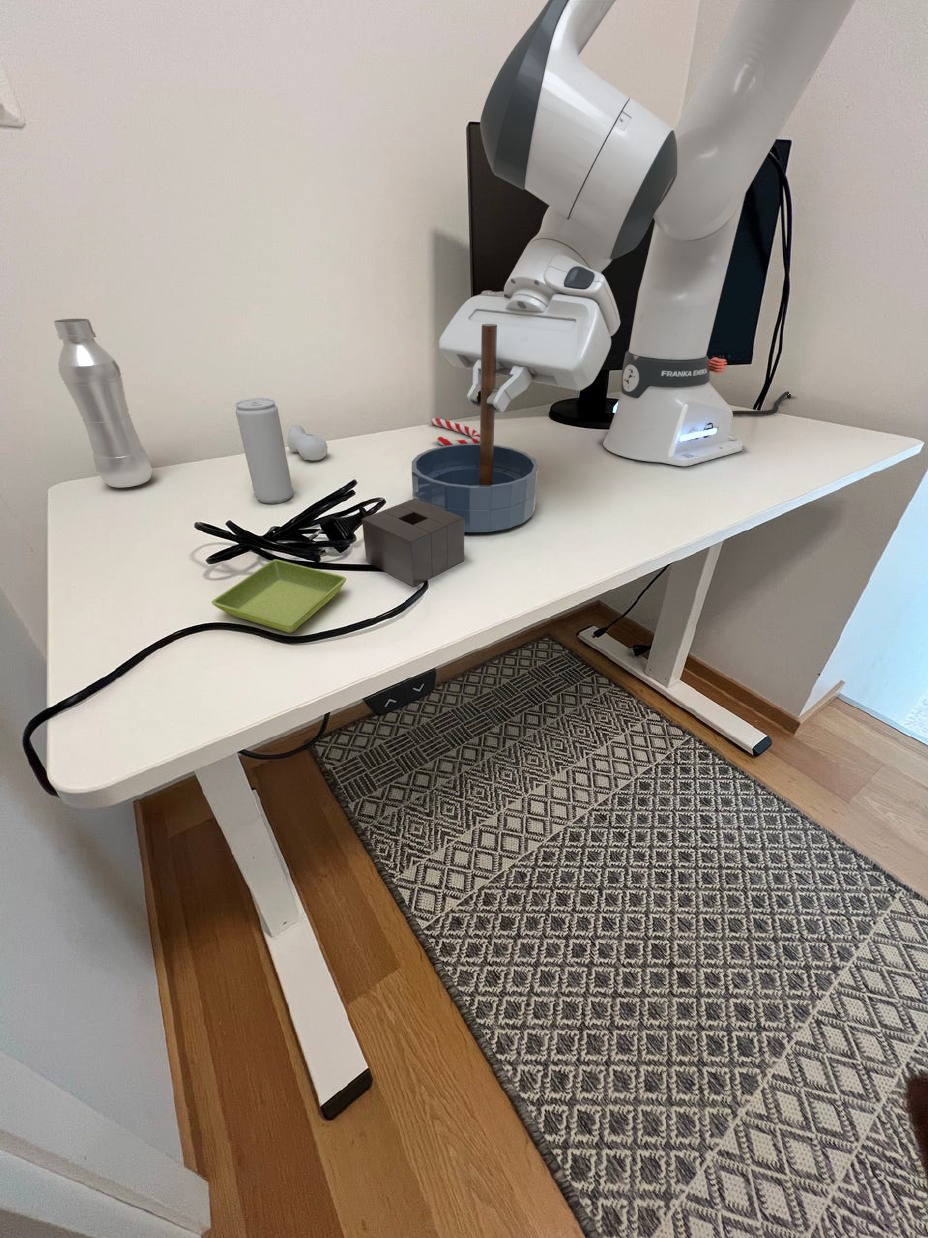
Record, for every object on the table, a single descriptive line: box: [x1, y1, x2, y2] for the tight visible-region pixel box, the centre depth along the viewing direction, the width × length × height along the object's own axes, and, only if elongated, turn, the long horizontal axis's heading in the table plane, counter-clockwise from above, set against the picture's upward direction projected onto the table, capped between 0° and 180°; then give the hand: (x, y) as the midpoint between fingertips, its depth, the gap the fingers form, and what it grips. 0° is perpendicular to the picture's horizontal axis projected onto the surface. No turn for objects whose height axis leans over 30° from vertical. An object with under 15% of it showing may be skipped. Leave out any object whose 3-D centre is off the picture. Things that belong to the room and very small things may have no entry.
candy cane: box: [431, 417, 480, 447], centre depth 94 cm, size 8×1×15 cm
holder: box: [361, 498, 465, 588], centre depth 56 cm, size 7×7×5 cm
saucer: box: [211, 558, 347, 634], centre depth 50 cm, size 9×9×2 cm
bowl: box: [411, 443, 540, 533], centre depth 67 cm, size 15×15×6 cm
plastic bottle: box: [53, 318, 153, 488], centre depth 69 cm, size 6×7×20 cm
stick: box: [479, 324, 497, 486], centre depth 61 cm, size 2×2×20 cm
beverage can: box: [234, 397, 294, 505], centre depth 68 cm, size 5×5×12 cm
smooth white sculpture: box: [286, 424, 329, 461], centre depth 84 cm, size 4×8×5 cm
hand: (484, 405), depth 59 cm, fingers closed on stick, 1 cm apart
